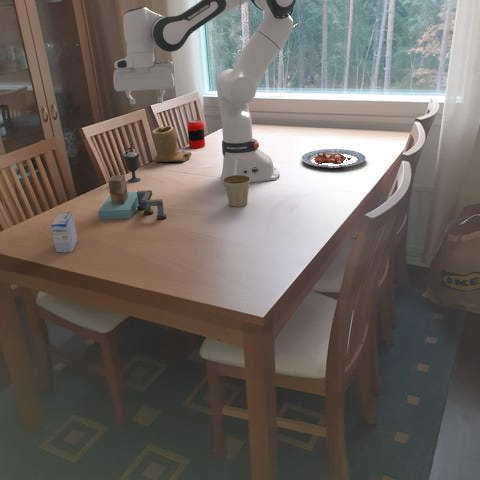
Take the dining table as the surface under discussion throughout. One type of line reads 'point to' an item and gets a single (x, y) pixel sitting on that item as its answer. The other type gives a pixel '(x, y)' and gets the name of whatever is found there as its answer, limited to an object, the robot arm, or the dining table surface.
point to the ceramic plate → (331, 157)
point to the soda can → (196, 134)
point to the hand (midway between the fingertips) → (146, 103)
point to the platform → (119, 208)
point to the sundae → (131, 162)
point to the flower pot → (237, 189)
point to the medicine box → (64, 232)
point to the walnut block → (118, 189)
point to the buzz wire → (150, 204)
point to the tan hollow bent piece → (168, 145)
